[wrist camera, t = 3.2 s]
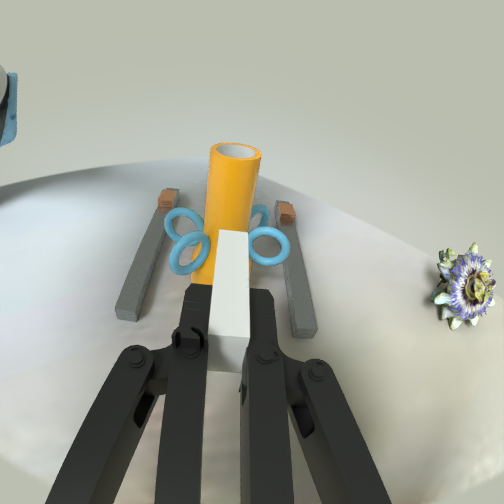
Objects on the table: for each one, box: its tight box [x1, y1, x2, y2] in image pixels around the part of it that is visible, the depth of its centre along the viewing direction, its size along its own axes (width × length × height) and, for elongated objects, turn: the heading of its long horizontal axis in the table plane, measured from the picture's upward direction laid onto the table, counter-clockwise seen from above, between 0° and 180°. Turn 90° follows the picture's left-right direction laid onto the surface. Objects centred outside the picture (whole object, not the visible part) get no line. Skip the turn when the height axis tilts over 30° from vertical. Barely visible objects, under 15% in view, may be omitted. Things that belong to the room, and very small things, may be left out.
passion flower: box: [431, 242, 496, 330], centre depth 32 cm, size 11×11×12 cm
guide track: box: [115, 188, 317, 338], centre depth 35 cm, size 24×19×2 cm
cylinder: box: [164, 143, 290, 285], centre depth 27 cm, size 12×10×15 cm
